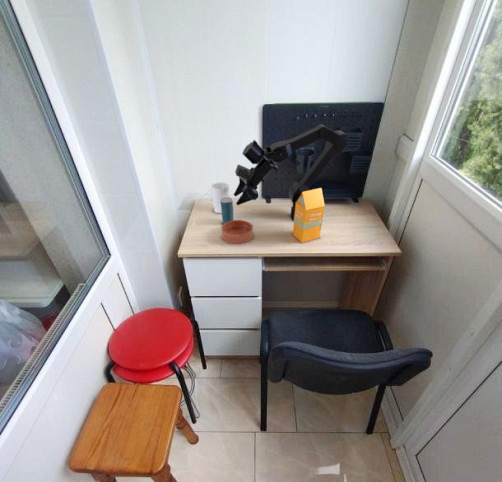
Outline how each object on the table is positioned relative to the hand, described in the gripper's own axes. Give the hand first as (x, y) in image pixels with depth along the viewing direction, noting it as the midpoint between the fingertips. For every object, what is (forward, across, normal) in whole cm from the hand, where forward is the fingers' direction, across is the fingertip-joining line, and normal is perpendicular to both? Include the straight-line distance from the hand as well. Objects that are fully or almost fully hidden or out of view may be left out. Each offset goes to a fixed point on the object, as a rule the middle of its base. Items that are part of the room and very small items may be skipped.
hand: (235, 199), depth 124 cm
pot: (+9, +12, +7) cm, 17 cm away
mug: (+13, -15, +3) cm, 20 cm away
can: (+11, 0, +5) cm, 12 cm away
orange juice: (-12, +17, +28) cm, 35 cm away
